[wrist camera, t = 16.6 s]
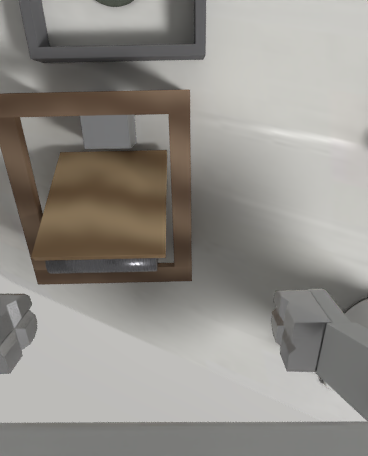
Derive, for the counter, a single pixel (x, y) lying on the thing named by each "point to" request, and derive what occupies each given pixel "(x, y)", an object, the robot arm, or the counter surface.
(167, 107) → the trapdoor frame
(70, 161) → the trapdoor
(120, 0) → the grey knobbed disc
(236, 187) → the counter surface
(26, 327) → the robot arm
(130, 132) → the stone block
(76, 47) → the cup mat rim
